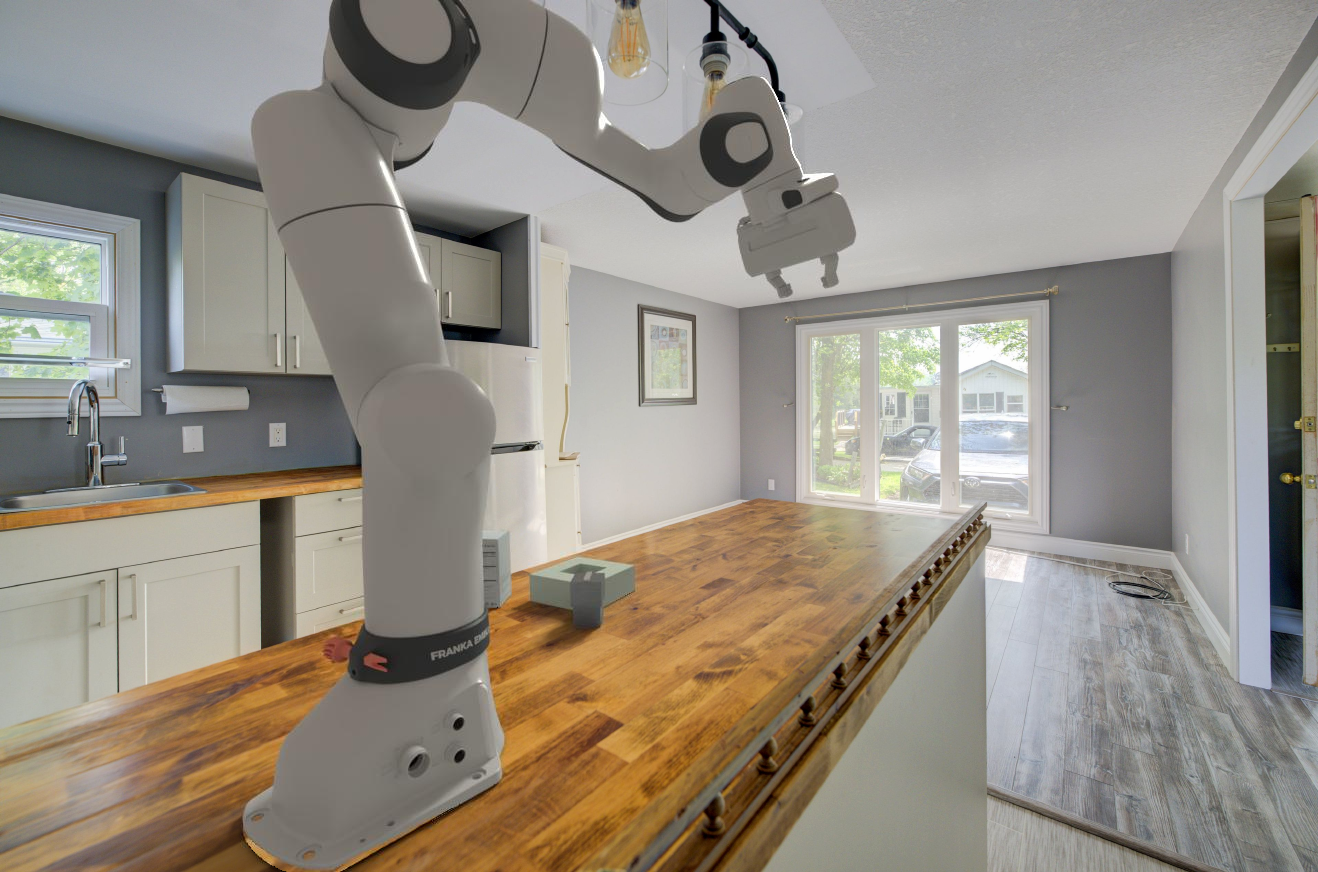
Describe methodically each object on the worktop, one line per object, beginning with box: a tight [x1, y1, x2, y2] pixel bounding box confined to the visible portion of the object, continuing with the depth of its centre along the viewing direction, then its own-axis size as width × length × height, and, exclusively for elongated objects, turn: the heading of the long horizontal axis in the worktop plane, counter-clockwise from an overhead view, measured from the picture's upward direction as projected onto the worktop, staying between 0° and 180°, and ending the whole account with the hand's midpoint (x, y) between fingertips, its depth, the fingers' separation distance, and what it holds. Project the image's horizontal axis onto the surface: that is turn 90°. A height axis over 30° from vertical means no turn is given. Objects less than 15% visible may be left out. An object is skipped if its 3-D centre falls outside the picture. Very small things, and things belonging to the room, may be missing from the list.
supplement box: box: [482, 529, 512, 609], centre depth 102 cm, size 7×7×13 cm
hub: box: [528, 556, 636, 611], centre depth 104 cm, size 14×14×5 cm
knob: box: [570, 571, 605, 629], centre depth 91 cm, size 5×5×8 cm
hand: (808, 291), depth 84 cm, fingers open, 8 cm apart
